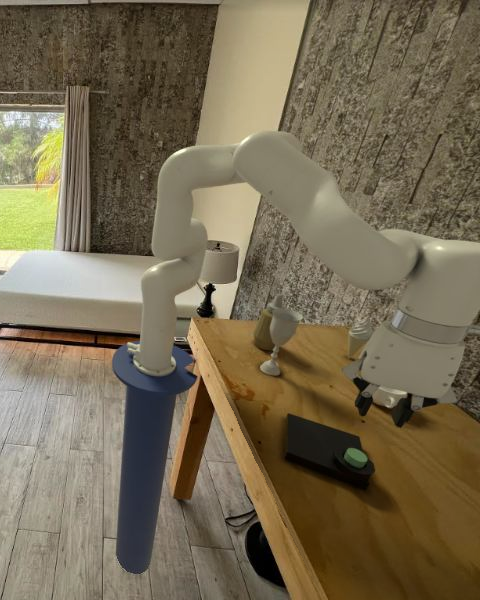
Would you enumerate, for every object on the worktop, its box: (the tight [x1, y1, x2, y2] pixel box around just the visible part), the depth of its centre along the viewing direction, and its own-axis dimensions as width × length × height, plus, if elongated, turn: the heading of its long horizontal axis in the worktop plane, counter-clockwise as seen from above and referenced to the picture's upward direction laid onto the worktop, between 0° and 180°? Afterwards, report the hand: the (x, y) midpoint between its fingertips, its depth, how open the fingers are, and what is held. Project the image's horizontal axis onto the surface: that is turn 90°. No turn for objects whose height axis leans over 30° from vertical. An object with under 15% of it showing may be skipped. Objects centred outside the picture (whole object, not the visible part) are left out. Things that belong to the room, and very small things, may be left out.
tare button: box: [344, 448, 368, 468], centre depth 59 cm, size 3×3×2 cm
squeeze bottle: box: [253, 293, 286, 351], centre depth 97 cm, size 8×8×18 cm
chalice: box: [259, 307, 304, 376], centre depth 86 cm, size 7×7×18 cm
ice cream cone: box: [347, 314, 374, 359], centre depth 91 cm, size 5×5×15 cm
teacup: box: [372, 386, 407, 409], centre depth 77 cm, size 10×8×5 cm
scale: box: [283, 412, 376, 491], centre depth 65 cm, size 13×12×4 cm
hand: (378, 415), depth 55 cm, fingers open, 4 cm apart
